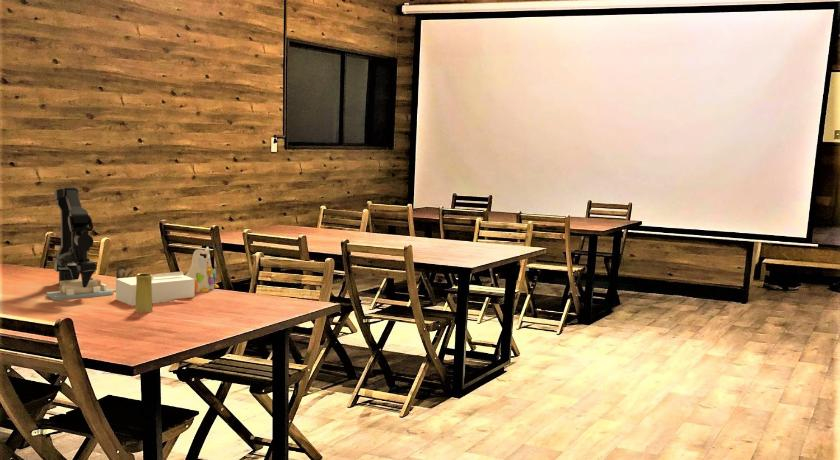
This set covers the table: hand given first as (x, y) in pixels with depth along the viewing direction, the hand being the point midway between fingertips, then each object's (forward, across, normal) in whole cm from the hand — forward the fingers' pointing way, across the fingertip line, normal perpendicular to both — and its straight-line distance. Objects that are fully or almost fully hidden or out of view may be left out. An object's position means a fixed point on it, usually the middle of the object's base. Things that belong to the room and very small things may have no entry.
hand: (79, 285), depth 336 cm
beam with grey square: (+2, 0, 0) cm, 3 cm away
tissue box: (+4, +22, +20) cm, 30 cm away
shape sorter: (+4, +15, +44) cm, 46 cm away
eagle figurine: (+4, -3, +19) cm, 20 cm away
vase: (+4, +41, +7) cm, 42 cm away
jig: (+4, 0, 0) cm, 4 cm away
